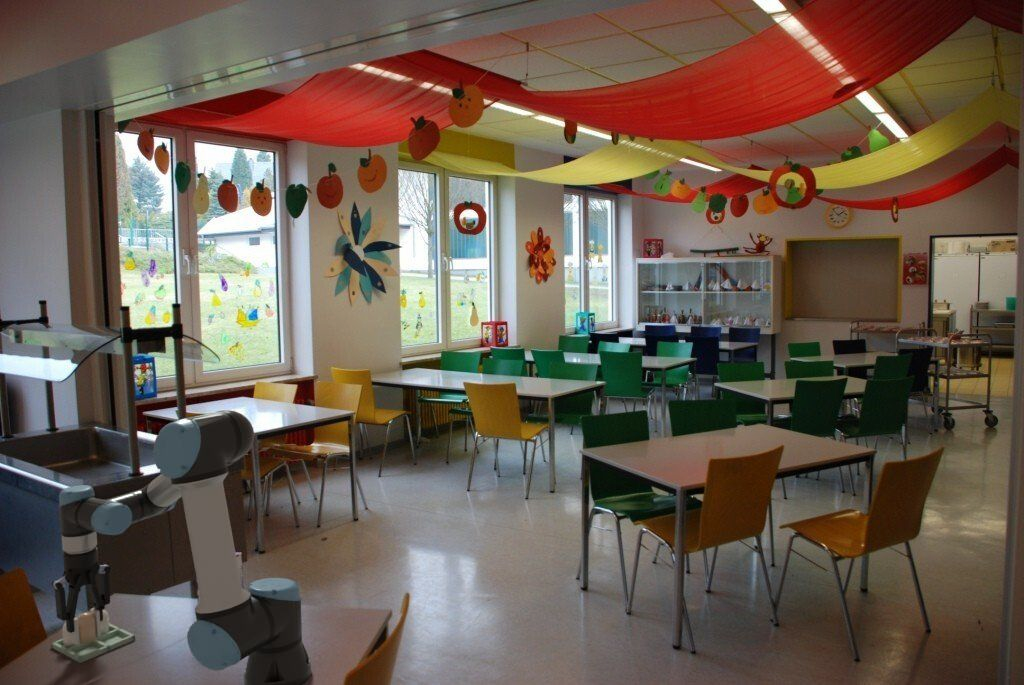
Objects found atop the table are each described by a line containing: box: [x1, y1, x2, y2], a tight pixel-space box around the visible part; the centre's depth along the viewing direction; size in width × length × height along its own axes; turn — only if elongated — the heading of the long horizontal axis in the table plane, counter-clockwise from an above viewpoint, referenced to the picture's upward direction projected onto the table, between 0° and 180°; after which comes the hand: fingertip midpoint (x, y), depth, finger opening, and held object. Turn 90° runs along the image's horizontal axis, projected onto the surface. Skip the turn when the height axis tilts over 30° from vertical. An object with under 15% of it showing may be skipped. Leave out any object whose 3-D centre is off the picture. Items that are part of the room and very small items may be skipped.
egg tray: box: [50, 622, 136, 664], centre depth 199 cm, size 14×14×2 cm
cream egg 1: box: [61, 622, 76, 649], centre depth 198 cm, size 5×5×7 cm
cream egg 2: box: [96, 609, 110, 637], centre depth 204 cm, size 5×5×7 cm
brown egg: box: [75, 611, 96, 644], centre depth 194 cm, size 5×5×7 cm
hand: (86, 638), depth 195 cm, fingers closed on brown egg, 4 cm apart
